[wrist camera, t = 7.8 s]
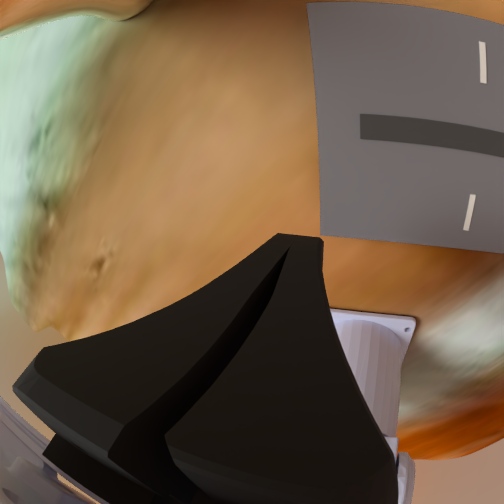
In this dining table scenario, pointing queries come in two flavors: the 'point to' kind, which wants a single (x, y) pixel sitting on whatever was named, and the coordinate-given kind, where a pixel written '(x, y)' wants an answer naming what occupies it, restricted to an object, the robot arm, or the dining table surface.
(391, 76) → the console
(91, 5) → the beer glass
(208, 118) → the dining table surface
